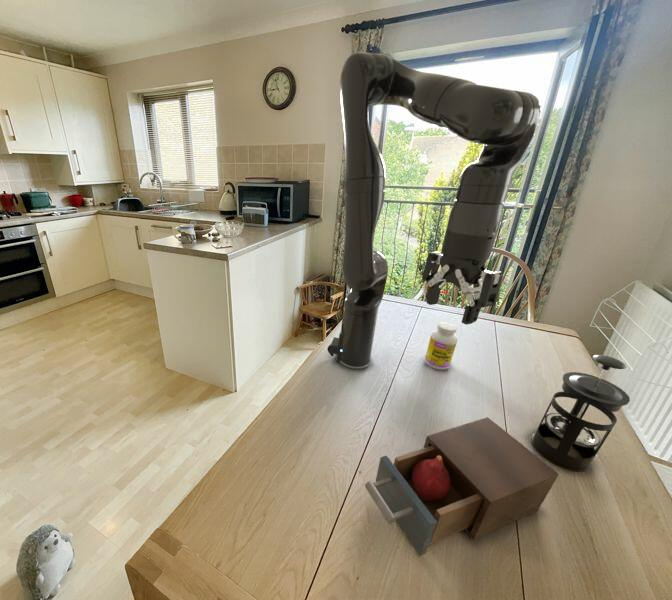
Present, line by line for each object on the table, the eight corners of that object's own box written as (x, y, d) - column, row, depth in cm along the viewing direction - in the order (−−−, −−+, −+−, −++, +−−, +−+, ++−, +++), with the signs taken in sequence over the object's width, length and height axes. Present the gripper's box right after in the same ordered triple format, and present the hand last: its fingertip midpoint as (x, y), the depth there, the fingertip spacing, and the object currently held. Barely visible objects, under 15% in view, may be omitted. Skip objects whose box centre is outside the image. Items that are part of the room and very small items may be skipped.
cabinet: (472, 540, 49) (490, 502, 45) (416, 471, 60) (426, 435, 56) (537, 511, 53) (559, 473, 49) (473, 451, 64) (487, 416, 60)
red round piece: (446, 519, 49) (466, 473, 49) (412, 501, 50) (433, 455, 50) (429, 498, 55) (448, 457, 55) (399, 482, 55) (418, 442, 56)
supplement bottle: (424, 367, 90) (434, 329, 85) (423, 355, 96) (433, 318, 90) (450, 373, 88) (462, 333, 82) (448, 360, 93) (459, 322, 88)
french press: (586, 483, 58) (649, 386, 48) (525, 451, 64) (569, 359, 55) (594, 448, 65) (650, 357, 55) (538, 422, 71) (580, 336, 62)
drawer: (393, 568, 45) (402, 536, 42) (351, 494, 55) (356, 464, 52) (487, 526, 50) (502, 495, 47) (433, 466, 60) (443, 437, 57)
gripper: (423, 222, 58) (407, 300, 65) (493, 240, 46) (464, 334, 53) (454, 220, 60) (435, 296, 67) (529, 236, 48) (497, 327, 55)
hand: (448, 313), depth 60 cm, fingers open, 8 cm apart
